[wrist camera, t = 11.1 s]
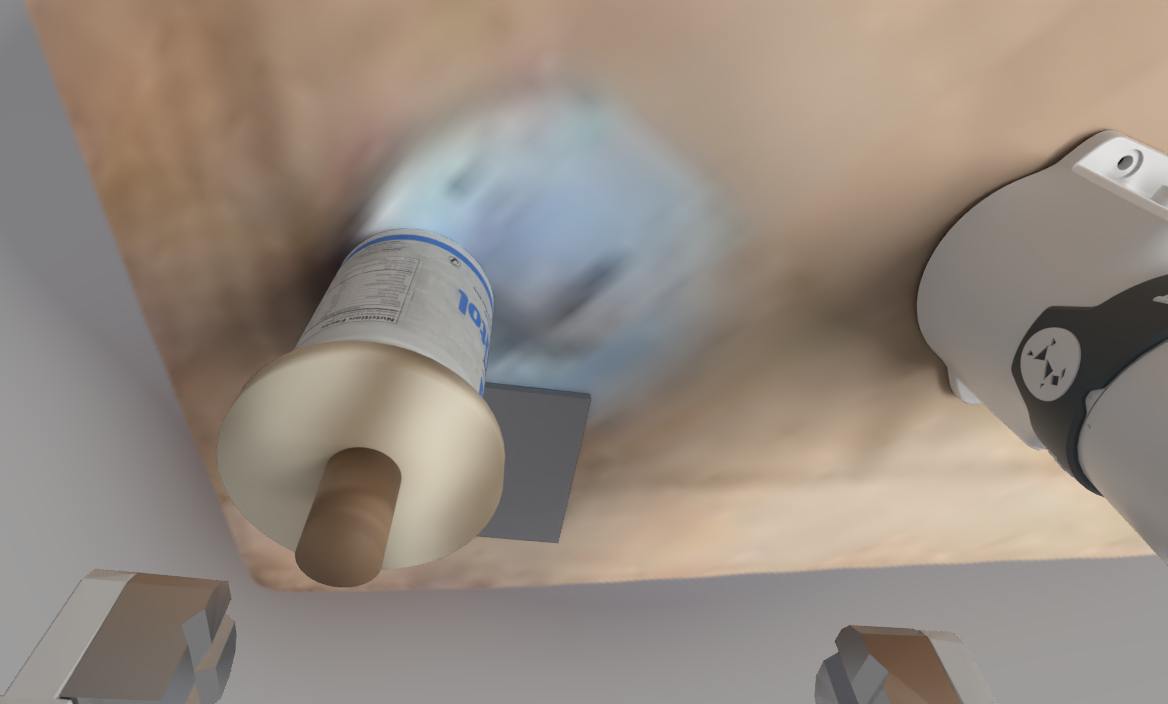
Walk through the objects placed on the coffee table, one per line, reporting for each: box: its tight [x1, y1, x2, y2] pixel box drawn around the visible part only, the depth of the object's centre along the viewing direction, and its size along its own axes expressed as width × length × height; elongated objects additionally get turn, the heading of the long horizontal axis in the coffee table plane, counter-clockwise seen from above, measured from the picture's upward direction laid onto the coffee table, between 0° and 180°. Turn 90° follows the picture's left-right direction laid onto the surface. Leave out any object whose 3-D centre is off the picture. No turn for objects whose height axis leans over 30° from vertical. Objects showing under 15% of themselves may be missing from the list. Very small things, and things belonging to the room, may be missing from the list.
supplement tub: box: [293, 229, 494, 398], centre depth 38 cm, size 10×10×15 cm
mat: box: [477, 382, 591, 543], centre depth 52 cm, size 14×14×1 cm
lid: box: [217, 340, 505, 587], centre depth 30 cm, size 12×12×6 cm
